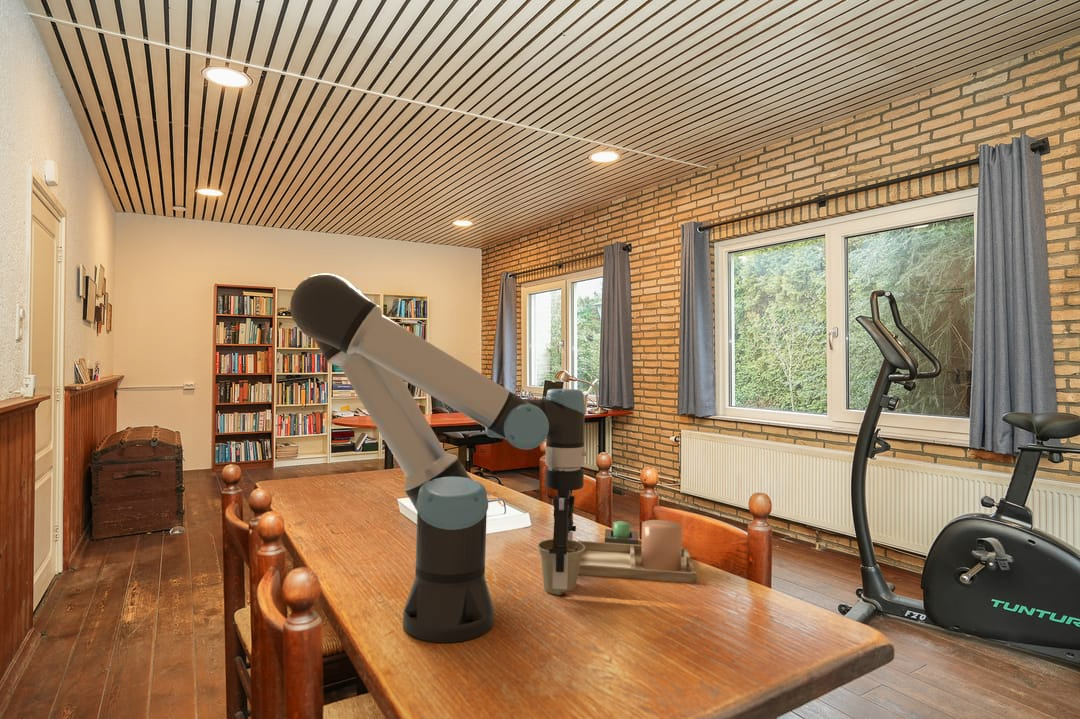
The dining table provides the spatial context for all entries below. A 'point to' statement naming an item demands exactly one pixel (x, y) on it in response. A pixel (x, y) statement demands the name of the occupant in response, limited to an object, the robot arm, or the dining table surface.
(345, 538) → the dining table surface
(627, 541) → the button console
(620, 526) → the button
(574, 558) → the flower pot
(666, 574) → the wooden serving tray
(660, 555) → the taupe pillar candle
